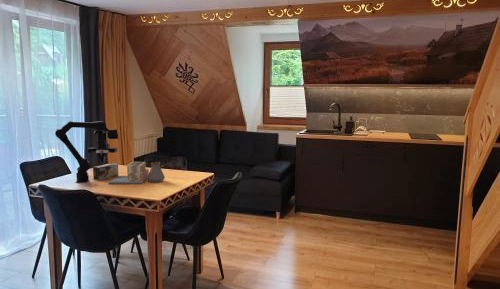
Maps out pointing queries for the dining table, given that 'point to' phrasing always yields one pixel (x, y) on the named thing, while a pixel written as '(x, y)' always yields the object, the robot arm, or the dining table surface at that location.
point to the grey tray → (125, 181)
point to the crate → (135, 170)
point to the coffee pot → (156, 173)
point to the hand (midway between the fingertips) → (103, 162)
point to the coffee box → (105, 171)
